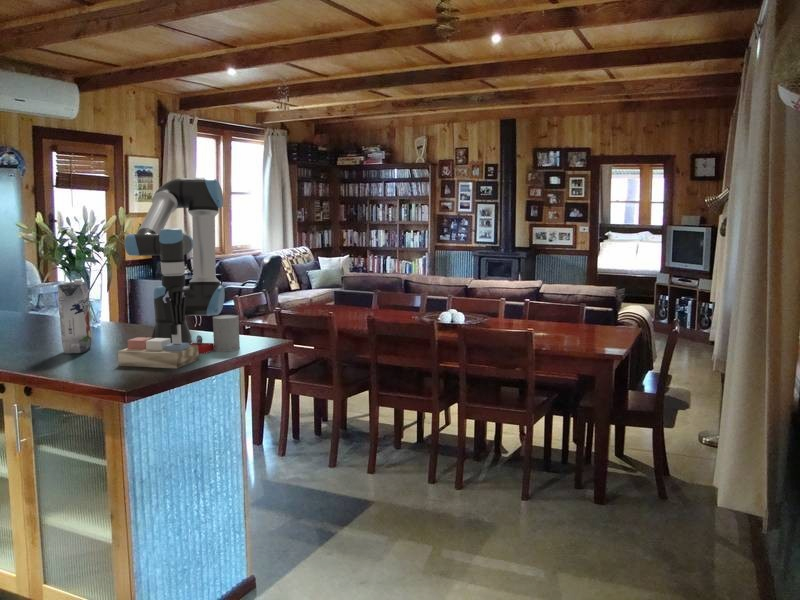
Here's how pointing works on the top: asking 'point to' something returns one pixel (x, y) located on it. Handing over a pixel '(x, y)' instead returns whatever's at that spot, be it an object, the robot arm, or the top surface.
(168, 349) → the blue key
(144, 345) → the red key
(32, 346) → the top surface
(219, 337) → the grey cylinder
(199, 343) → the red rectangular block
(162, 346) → the white key
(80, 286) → the juice carton
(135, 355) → the frame
